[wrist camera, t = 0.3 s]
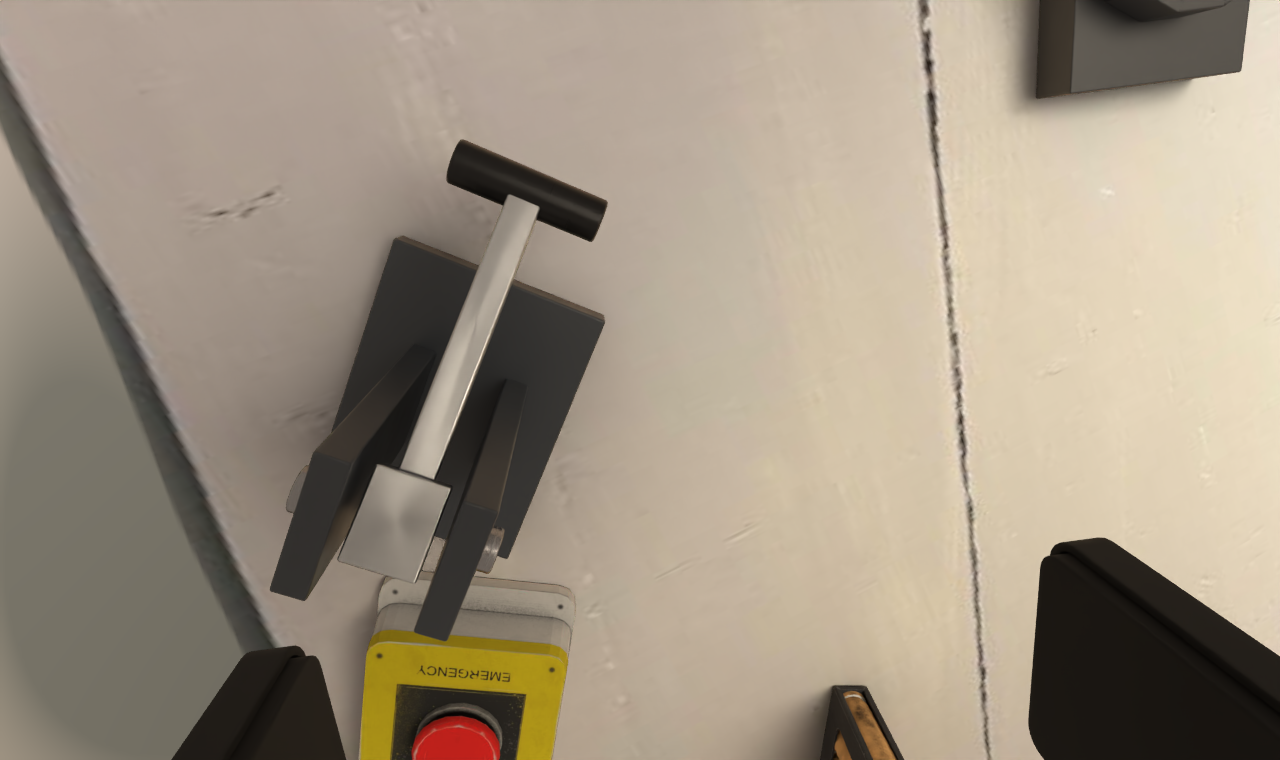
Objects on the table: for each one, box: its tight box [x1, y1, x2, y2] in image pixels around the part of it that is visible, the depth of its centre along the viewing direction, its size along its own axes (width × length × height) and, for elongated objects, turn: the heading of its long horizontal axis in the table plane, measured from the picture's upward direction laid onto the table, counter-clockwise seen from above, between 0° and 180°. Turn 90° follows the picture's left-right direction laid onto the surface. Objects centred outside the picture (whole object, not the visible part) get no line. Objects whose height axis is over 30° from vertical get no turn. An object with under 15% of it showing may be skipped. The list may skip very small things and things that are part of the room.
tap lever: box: [338, 140, 608, 584], centre depth 22 cm, size 13×5×2 cm, turn 157°
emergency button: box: [359, 571, 576, 760], centre depth 34 cm, size 9×4×15 cm
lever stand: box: [270, 236, 605, 641], centre depth 25 cm, size 12×9×13 cm
